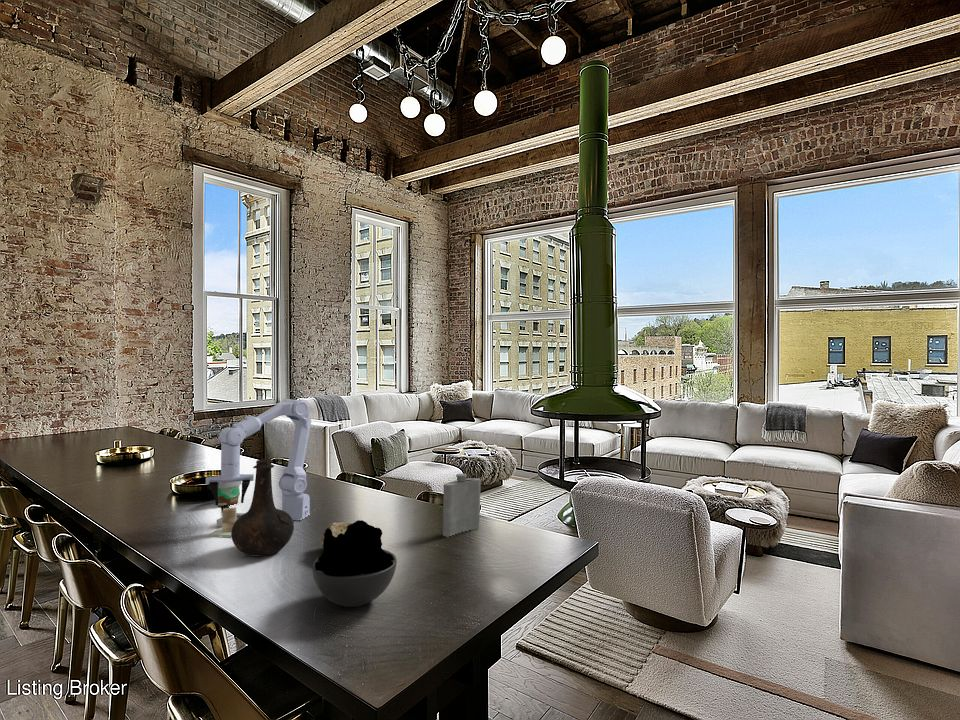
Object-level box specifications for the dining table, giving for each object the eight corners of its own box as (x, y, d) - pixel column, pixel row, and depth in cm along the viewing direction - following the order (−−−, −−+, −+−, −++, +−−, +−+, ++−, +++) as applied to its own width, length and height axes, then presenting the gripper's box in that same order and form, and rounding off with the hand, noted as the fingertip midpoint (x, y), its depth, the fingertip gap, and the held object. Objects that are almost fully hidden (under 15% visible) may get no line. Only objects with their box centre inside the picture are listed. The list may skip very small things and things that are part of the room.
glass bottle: (271, 564, 147) (273, 467, 147) (216, 559, 151) (219, 463, 151) (304, 543, 164) (306, 456, 165) (255, 539, 168) (257, 453, 168)
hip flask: (446, 537, 172) (447, 478, 173) (439, 534, 175) (440, 476, 176) (481, 528, 183) (482, 472, 183) (473, 525, 186) (474, 470, 186)
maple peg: (236, 527, 176) (236, 507, 176) (235, 531, 173) (235, 510, 173) (223, 529, 175) (223, 508, 175) (222, 532, 171) (222, 511, 171)
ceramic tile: (248, 530, 177) (248, 527, 177) (234, 537, 169) (234, 535, 169) (223, 528, 178) (223, 526, 178) (209, 536, 170) (209, 533, 170)
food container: (231, 508, 202) (232, 483, 202) (216, 508, 202) (216, 483, 202) (246, 500, 214) (247, 476, 214) (232, 500, 214) (232, 476, 214)
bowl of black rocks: (400, 584, 135) (402, 513, 135) (389, 623, 115) (391, 539, 115) (324, 584, 134) (325, 512, 135) (299, 623, 114) (301, 538, 115)
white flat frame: (267, 521, 186) (267, 514, 186) (253, 529, 178) (254, 522, 178) (231, 519, 188) (232, 512, 188) (216, 527, 179) (216, 519, 179)
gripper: (254, 459, 180) (253, 498, 180) (207, 462, 174) (206, 502, 174) (253, 463, 174) (252, 503, 173) (205, 466, 168) (204, 507, 168)
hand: (229, 503), depth 173 cm, fingers open, 7 cm apart
